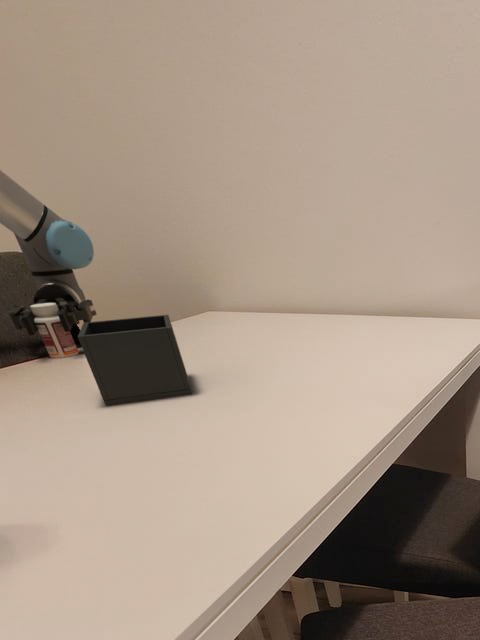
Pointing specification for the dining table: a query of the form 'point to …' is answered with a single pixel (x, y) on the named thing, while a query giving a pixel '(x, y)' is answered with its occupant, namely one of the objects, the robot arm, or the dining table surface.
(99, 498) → the dining table surface
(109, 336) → the trash bin
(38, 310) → the pill bottle
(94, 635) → the dining table surface
